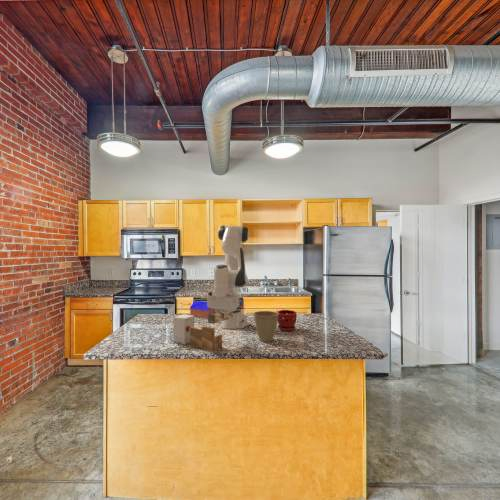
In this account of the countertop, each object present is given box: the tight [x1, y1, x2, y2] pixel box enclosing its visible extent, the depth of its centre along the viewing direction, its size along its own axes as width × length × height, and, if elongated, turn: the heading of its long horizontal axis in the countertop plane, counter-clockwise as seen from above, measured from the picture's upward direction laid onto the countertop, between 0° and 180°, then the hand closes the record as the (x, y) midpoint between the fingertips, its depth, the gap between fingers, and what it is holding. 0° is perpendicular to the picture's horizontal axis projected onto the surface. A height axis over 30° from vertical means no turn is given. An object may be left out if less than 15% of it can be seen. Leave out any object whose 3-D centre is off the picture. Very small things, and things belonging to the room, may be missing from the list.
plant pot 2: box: [277, 309, 298, 332], centre depth 199 cm, size 13×13×12 cm
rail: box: [207, 311, 233, 324], centre depth 167 cm, size 17×3×5 cm, turn 143°
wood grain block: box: [189, 325, 223, 352], centre depth 164 cm, size 8×17×12 cm, turn 53°
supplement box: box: [172, 313, 195, 345], centre depth 173 cm, size 9×9×15 cm
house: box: [189, 300, 217, 319], centre depth 242 cm, size 12×20×12 cm, turn 59°
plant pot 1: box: [253, 310, 279, 343], centre depth 175 cm, size 15×15×16 cm
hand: (221, 317), depth 167 cm, fingers closed on rail, 3 cm apart
